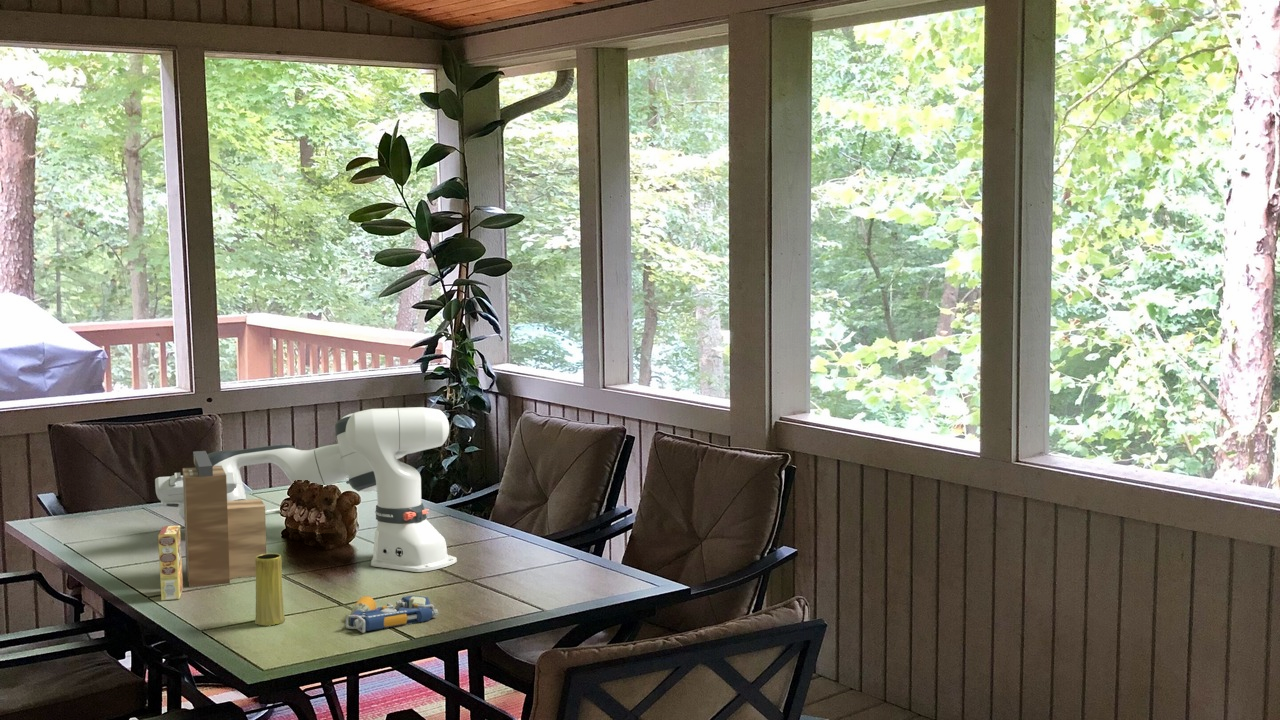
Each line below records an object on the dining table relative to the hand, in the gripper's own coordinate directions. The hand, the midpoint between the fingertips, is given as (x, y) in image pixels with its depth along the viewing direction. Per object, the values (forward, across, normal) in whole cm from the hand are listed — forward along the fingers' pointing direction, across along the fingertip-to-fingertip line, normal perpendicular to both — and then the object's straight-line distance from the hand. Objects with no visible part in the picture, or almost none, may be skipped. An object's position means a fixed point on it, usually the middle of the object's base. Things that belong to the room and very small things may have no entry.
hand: (197, 474), depth 315 cm
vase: (+48, -10, -53) cm, 72 cm away
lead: (+20, 0, -6) cm, 21 cm away
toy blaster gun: (+54, -33, -57) cm, 85 cm away
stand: (+11, -5, -31) cm, 33 cm away
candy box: (+22, +8, -38) cm, 44 cm away
